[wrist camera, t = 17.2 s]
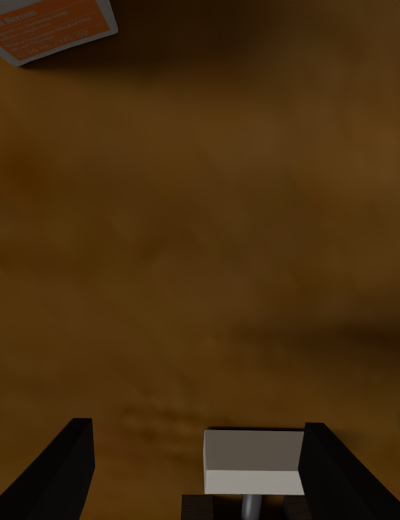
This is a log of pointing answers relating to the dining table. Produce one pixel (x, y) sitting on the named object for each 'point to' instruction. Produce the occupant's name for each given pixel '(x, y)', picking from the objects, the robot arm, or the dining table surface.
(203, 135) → the dining table surface
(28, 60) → the skincare box
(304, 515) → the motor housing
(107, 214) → the dining table surface
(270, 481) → the white ended gray rod
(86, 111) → the dining table surface
